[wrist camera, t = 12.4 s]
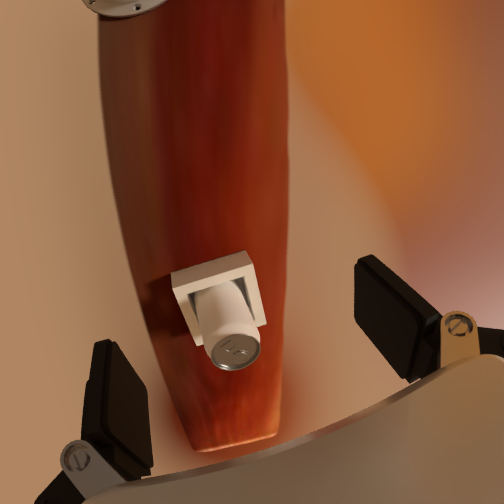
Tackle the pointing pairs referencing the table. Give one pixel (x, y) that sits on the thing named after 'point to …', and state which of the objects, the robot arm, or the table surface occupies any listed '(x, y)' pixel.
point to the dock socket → (214, 274)
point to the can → (227, 326)
